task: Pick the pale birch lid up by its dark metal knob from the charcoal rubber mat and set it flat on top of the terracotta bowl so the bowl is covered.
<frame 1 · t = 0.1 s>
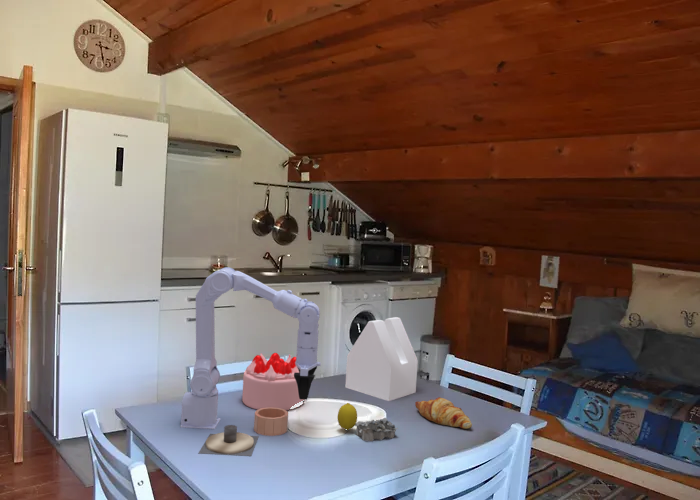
hand: (304, 394, 167), 10 cm above the table, tool pointing down, fingers open, 7 cm apart
lemon: (346, 431, 169), on the table
egg carton: (375, 436, 167), on the table
lid: (229, 444, 153), resting on mat
bowl: (270, 430, 165), on the table
mat: (229, 445, 153), on the table
croissant: (441, 421, 182), on the table
white house-shaped block: (380, 390, 210), on the table
cake: (274, 402, 190), on the table
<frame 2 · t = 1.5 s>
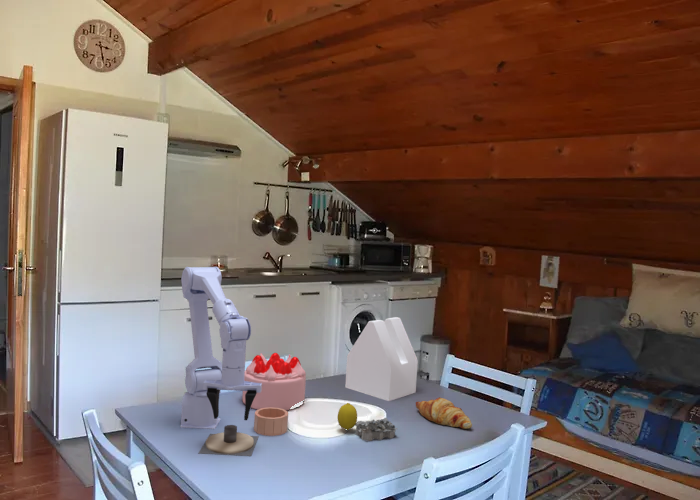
hand: (231, 418, 153), 7 cm above the table, tool pointing down, fingers open, 7 cm apart
nothing on the table moved.
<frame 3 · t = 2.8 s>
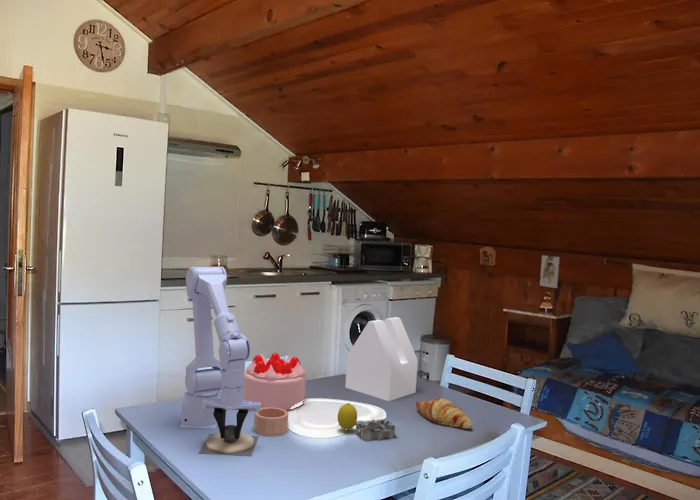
hand: (230, 437, 153), 2 cm above the table, tool pointing down, fingers closed on lid, 3 cm apart
lid: (229, 444, 153), resting on mat, touching gripper
everything else where it was.
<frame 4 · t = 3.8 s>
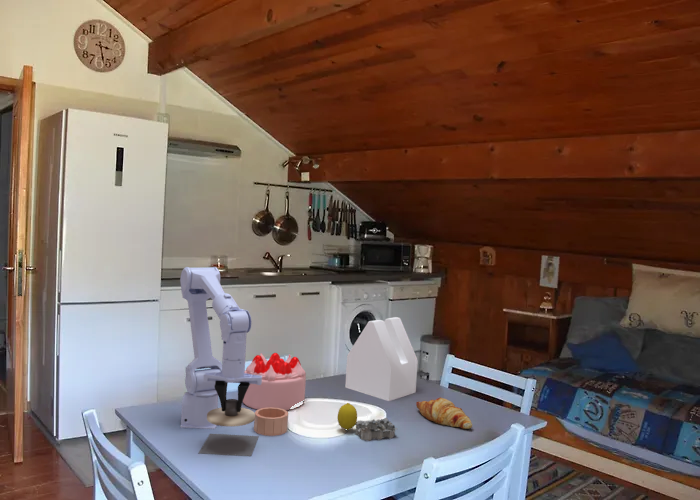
hand: (231, 410, 153), 9 cm above the table, tool pointing down, fingers closed on lid, 3 cm apart
lid: (231, 418, 153), point 7 cm above the table, touching gripper
everything else where it was.
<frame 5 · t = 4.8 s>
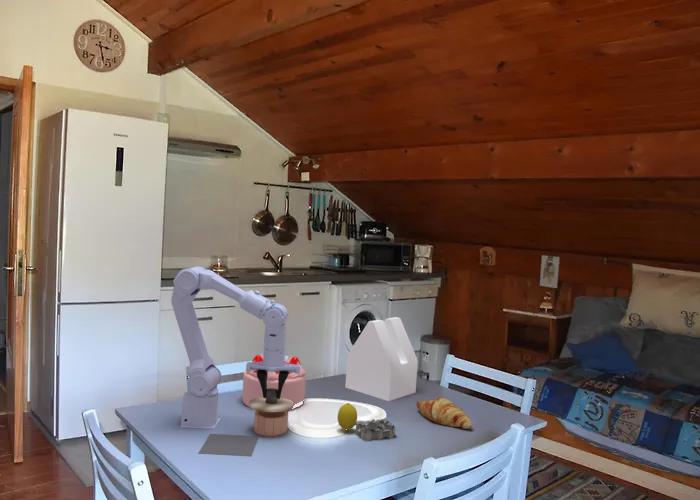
hand: (271, 397, 165), 9 cm above the table, tool pointing down, fingers closed on lid, 3 cm apart
lid: (271, 406, 164), point 7 cm above the table, touching gripper
everything else where it was.
when the fingers open (8 cm above the table, at t = 5.5 s): lid stays where it is, resting on bowl.
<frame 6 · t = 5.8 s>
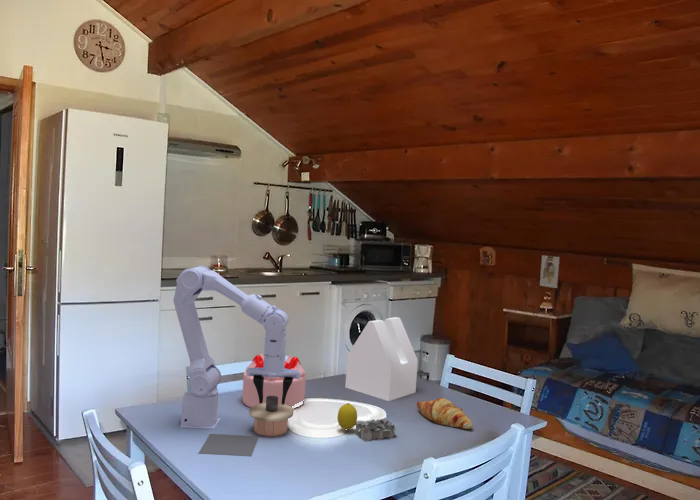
hand: (272, 402, 165), 8 cm above the table, tool pointing down, fingers open, 5 cm apart
lid: (271, 413, 165), point 5 cm above the table, touching bowl
everything else where it was.
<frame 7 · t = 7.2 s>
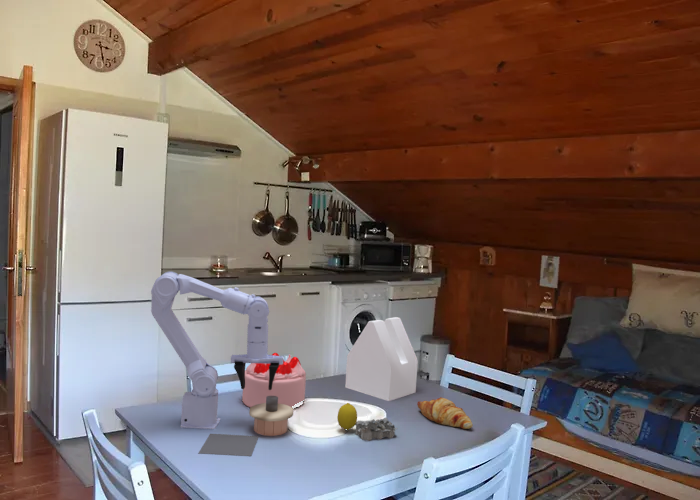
hand: (256, 388, 169), 10 cm above the table, tool pointing down, fingers open, 7 cm apart
nothing on the table moved.
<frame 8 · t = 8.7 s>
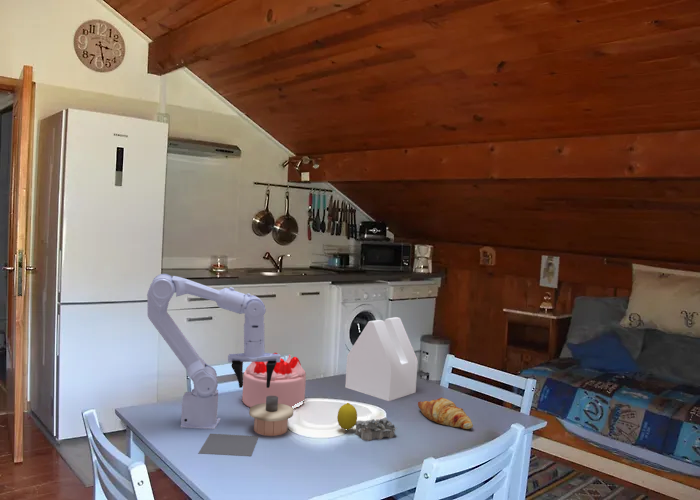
hand: (254, 386, 170), 10 cm above the table, tool pointing down, fingers open, 7 cm apart
nothing on the table moved.
at the end: lid 0.5 cm off-centre on the bowl, point 5.0 cm above the bowl's base; lid tilted 0°; the gripper is holding nothing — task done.
